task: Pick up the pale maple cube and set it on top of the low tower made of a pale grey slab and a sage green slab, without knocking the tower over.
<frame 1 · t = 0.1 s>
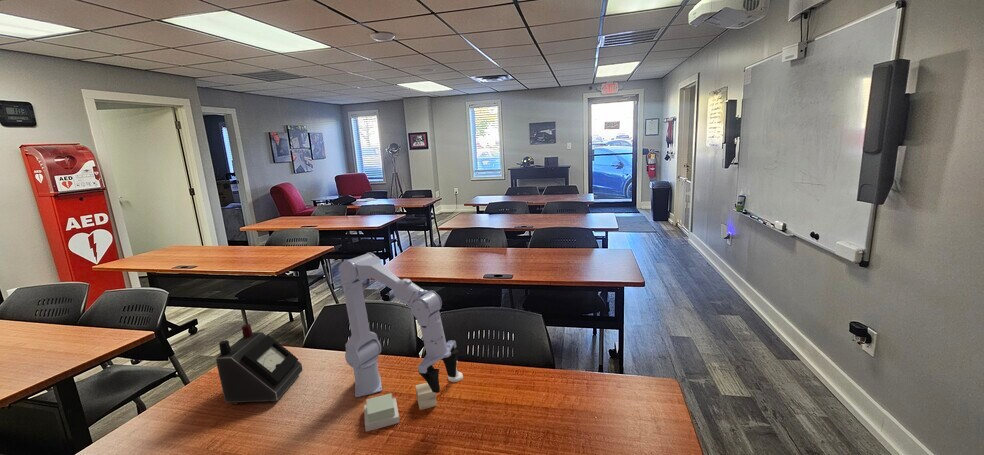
hand: (444, 384, 109), 10 cm above the table, tool pointing down, fingers open, 7 cm apart
chess piece: (455, 378, 130), on the table
tower base: (382, 418, 114), on the table, touching tower top
tower top: (380, 411, 113), point 2 cm above the table, touching tower base
maple cube: (426, 403, 119), on the table
voltmeter: (267, 389, 130), on the table
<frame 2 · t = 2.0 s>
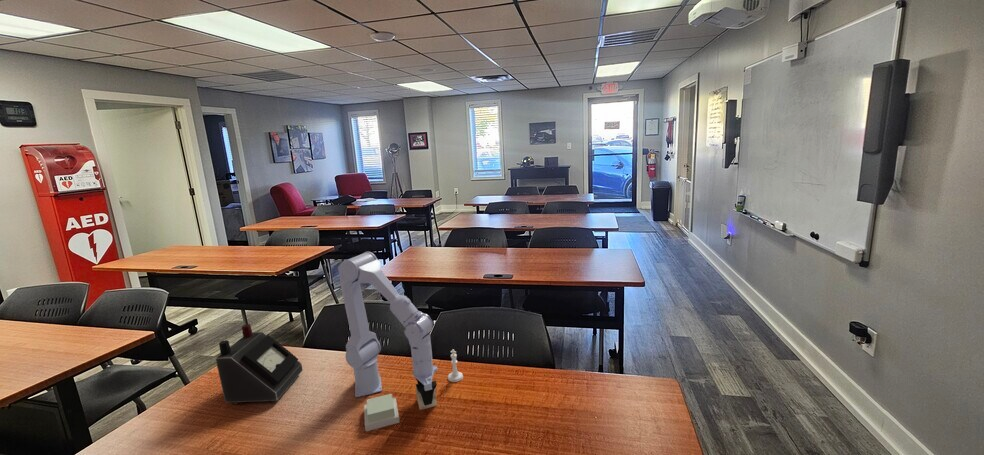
hand: (426, 398, 118), 1 cm above the table, tool pointing down, fingers closed on maple cube, 5 cm apart
maple cube: (426, 402, 118), on the table, touching gripper
everything else where it was.
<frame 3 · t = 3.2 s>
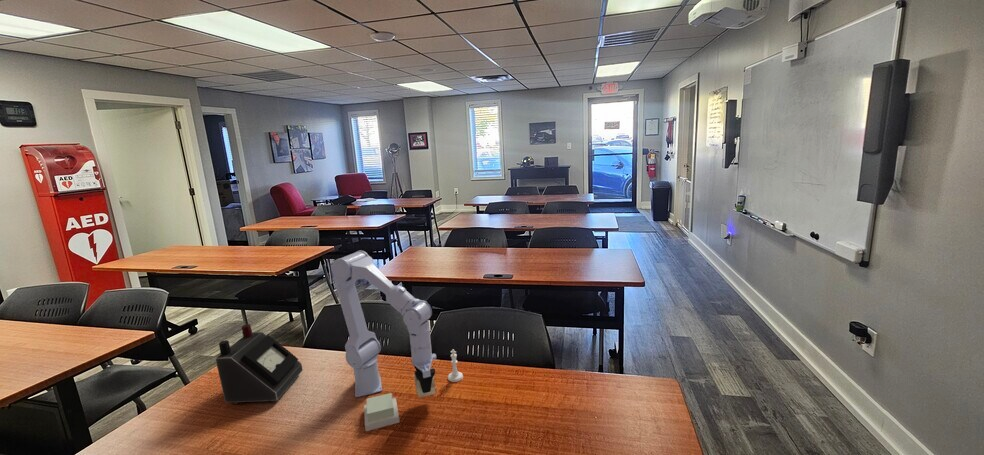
hand: (424, 386, 117), 5 cm above the table, tool pointing down, fingers closed on maple cube, 5 cm apart
maple cube: (425, 390, 118), point 4 cm above the table, touching gripper
everything else where it was.
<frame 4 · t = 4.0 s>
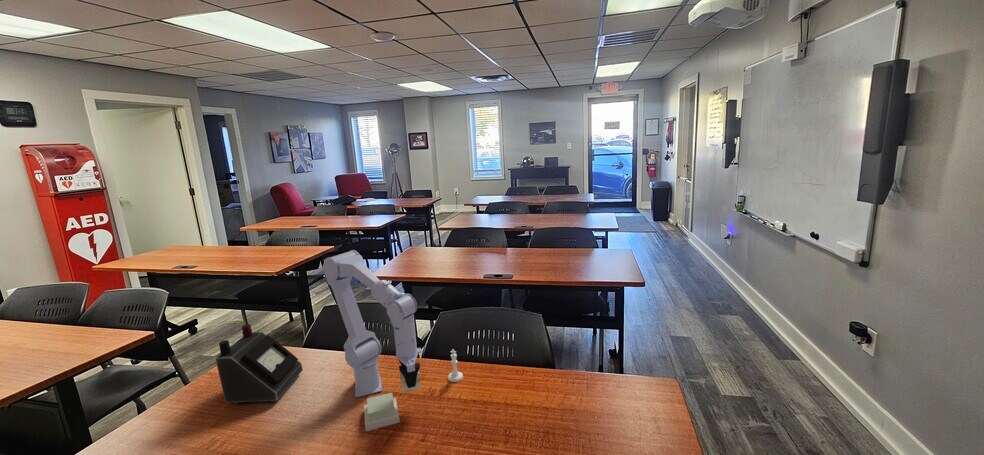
hand: (410, 381, 115), 8 cm above the table, tool pointing down, fingers closed on maple cube, 5 cm apart
maple cube: (411, 385, 116), point 7 cm above the table, touching gripper
everything else where it was.
when the fingers open (7 cm above the table, at t = 5.5 s): maple cube drops 2 cm, resting on tower top.
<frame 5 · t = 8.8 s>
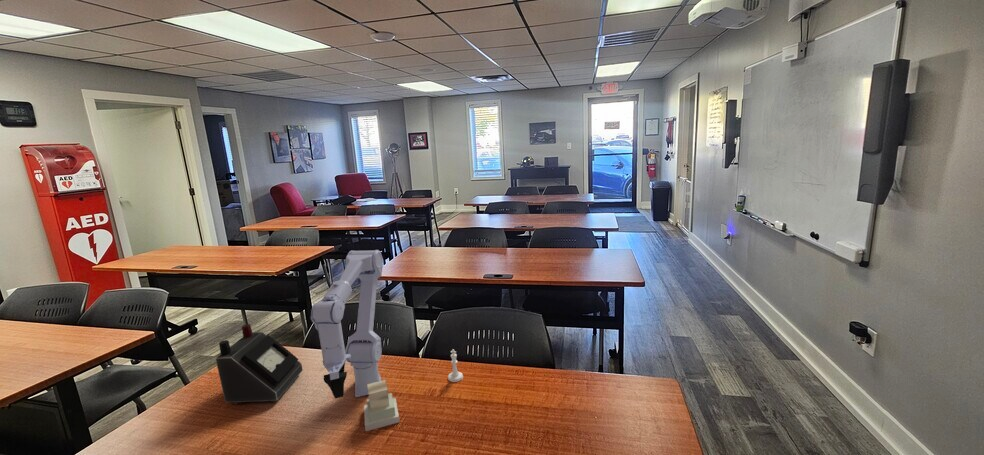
hand: (339, 388, 110), 10 cm above the table, tool pointing down, fingers open, 7 cm apart
tower top: (381, 411, 113), point 2 cm above the table, touching maple cube, tower base
maple cube: (379, 402, 113), point 4 cm above the table, touching tower top
everything else where it was.
at the end: maple cube 0.2 cm off-centre on the tower base, point 5.0 cm above the tower base's base; maple cube tilted 0°; tower top moved 0.8 cm from its start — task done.
